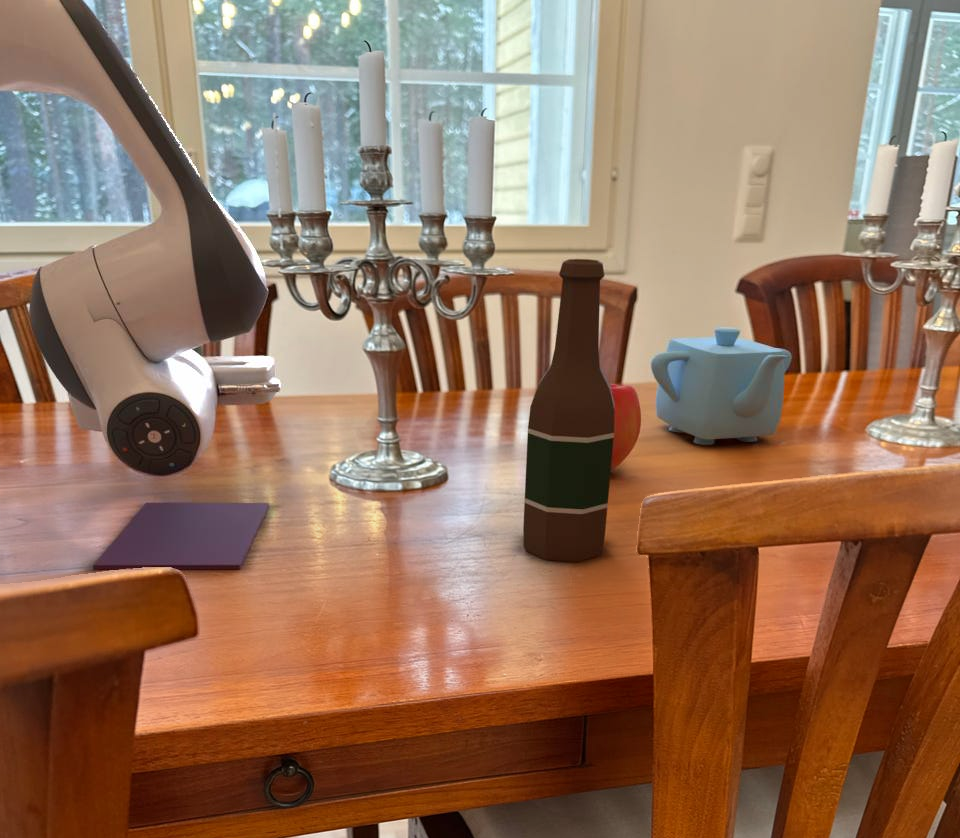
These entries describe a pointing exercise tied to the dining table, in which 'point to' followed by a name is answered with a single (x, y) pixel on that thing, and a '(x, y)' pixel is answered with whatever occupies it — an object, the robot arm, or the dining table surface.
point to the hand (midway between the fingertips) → (178, 365)
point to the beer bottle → (571, 430)
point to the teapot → (720, 386)
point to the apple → (625, 422)
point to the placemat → (186, 536)
